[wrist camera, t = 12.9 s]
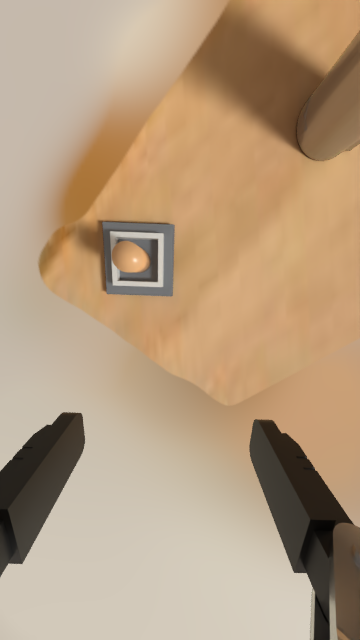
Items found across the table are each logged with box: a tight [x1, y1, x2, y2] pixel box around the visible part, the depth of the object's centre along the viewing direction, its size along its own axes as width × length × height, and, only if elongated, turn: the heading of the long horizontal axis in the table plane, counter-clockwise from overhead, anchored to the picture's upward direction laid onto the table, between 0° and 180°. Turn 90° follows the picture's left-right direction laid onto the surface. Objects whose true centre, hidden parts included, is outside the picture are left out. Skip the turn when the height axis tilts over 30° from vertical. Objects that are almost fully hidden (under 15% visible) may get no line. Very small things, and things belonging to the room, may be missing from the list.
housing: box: [102, 222, 175, 296], centre depth 32 cm, size 12×12×3 cm
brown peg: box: [112, 241, 151, 273], centre depth 29 cm, size 4×4×8 cm
